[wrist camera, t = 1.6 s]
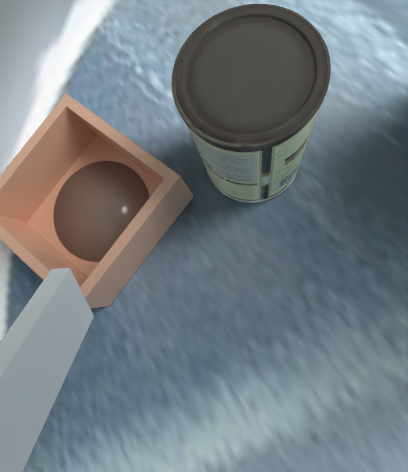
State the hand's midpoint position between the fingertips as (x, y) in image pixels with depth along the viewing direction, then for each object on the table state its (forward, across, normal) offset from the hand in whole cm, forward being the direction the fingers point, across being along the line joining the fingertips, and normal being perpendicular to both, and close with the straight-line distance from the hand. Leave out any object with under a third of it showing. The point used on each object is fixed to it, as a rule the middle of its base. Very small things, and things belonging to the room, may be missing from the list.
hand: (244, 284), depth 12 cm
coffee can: (+25, +1, -5) cm, 25 cm away
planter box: (+22, -16, -8) cm, 28 cm away
